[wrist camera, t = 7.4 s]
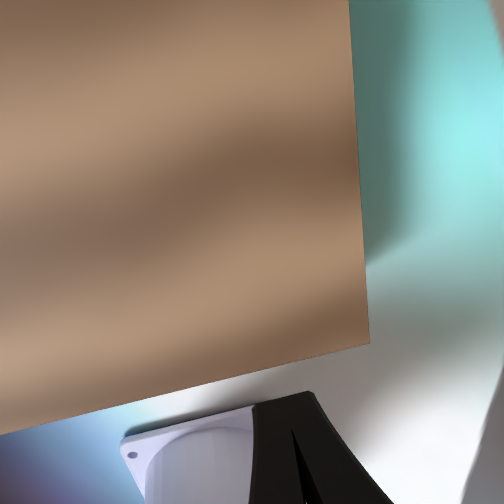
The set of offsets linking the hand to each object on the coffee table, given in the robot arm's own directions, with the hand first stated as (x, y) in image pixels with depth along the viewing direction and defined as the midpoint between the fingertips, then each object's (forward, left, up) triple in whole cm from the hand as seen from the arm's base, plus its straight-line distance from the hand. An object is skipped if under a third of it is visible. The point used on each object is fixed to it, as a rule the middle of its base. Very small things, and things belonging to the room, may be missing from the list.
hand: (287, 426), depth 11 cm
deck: (+3, +4, -10) cm, 11 cm away
